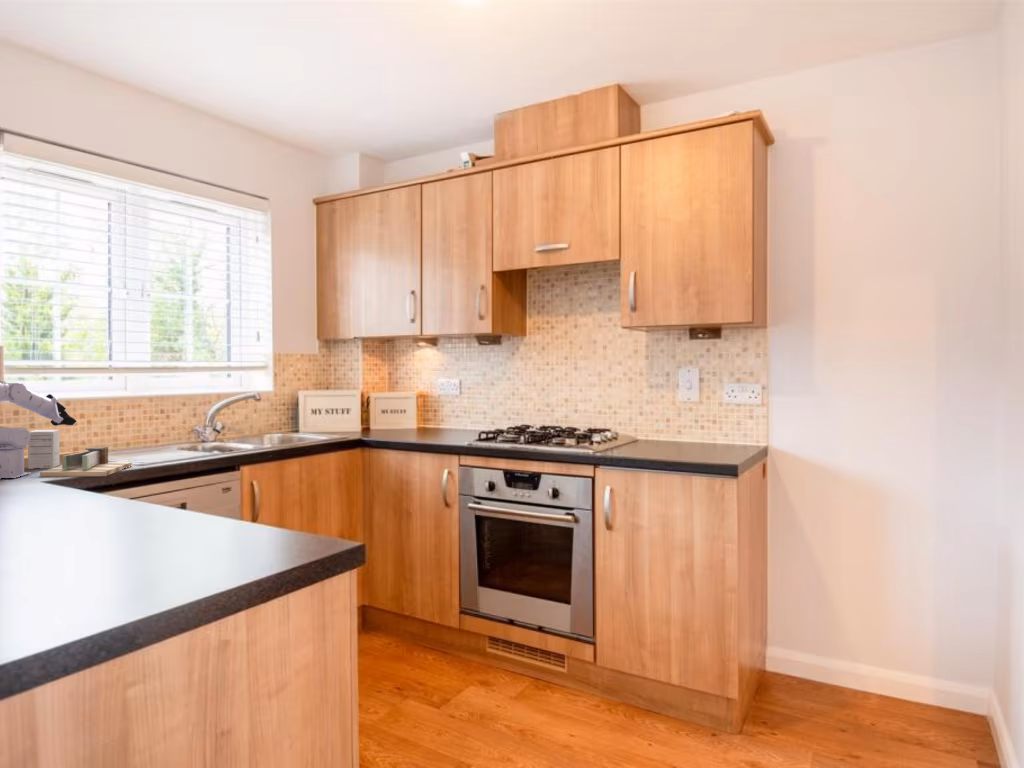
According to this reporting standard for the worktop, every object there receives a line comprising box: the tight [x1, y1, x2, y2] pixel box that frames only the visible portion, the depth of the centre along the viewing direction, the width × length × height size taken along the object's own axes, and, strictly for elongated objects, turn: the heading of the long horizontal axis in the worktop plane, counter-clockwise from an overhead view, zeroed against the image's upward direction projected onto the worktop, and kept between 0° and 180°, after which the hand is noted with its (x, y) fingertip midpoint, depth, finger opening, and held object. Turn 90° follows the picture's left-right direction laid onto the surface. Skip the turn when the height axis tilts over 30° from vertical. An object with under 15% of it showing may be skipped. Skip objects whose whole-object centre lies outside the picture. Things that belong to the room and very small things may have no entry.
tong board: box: [39, 446, 133, 477], centre depth 209 cm, size 20×19×7 cm
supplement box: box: [27, 429, 60, 470], centre depth 216 cm, size 7×7×13 cm
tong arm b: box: [61, 450, 95, 470], centre depth 208 cm, size 14×1×5 cm, turn 1°
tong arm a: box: [82, 450, 100, 470], centre depth 208 cm, size 14×1×5 cm, turn 19°
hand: (68, 416), depth 217 cm, fingers open, 7 cm apart
